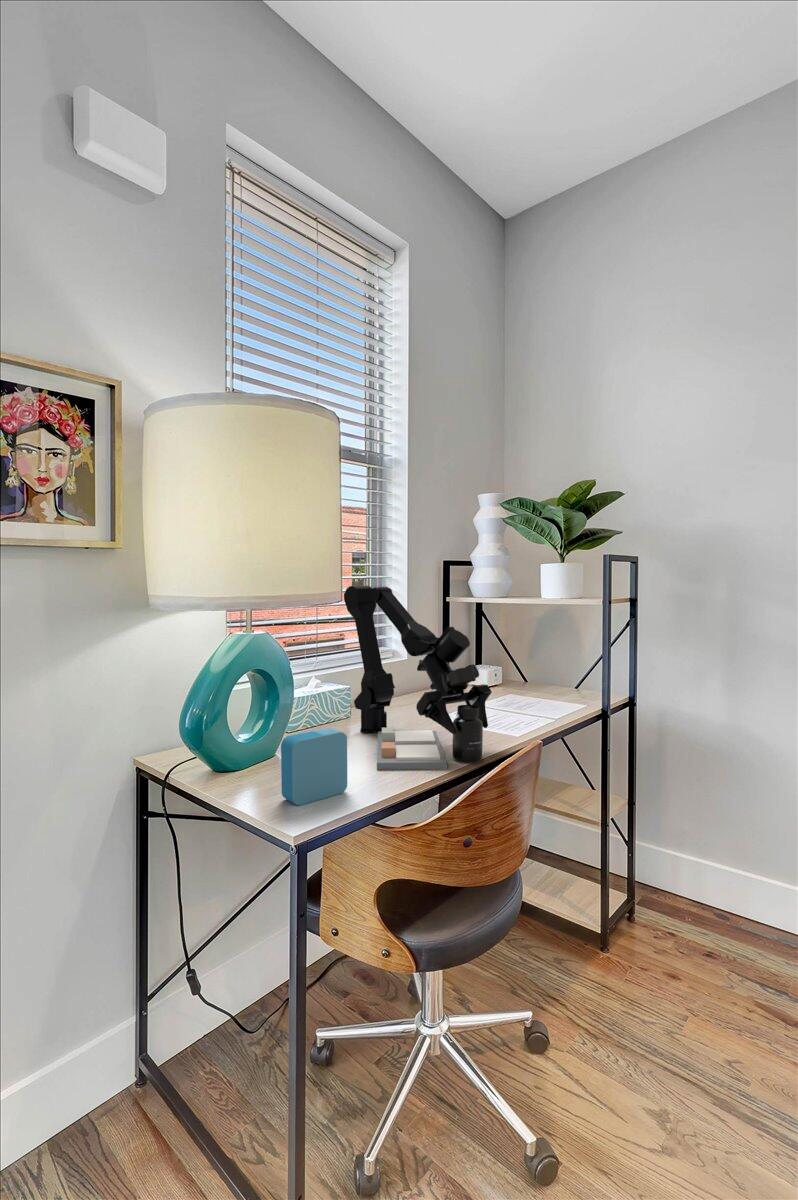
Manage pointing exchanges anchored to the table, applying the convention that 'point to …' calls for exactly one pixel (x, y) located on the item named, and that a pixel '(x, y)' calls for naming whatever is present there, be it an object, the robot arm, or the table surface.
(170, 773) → the table surface
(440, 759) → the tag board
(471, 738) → the supplement bottle
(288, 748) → the blue rounded square block
